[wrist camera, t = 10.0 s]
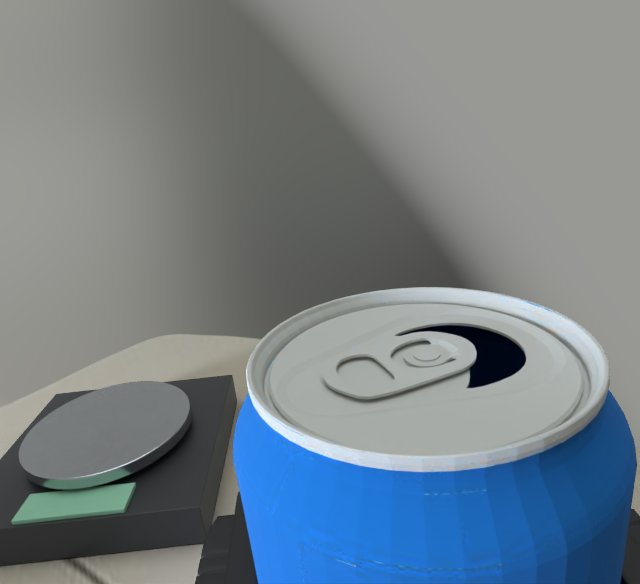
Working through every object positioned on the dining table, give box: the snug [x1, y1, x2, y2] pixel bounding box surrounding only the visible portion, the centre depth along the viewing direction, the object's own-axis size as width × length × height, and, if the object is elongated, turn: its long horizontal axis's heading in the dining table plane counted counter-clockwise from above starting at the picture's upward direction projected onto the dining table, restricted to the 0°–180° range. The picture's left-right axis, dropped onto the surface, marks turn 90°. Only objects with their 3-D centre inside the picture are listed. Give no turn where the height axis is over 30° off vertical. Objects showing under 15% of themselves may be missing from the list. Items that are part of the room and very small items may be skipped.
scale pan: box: [19, 381, 192, 490], centre depth 32 cm, size 10×10×1 cm
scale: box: [0, 375, 237, 566], centre depth 33 cm, size 14×14×3 cm
